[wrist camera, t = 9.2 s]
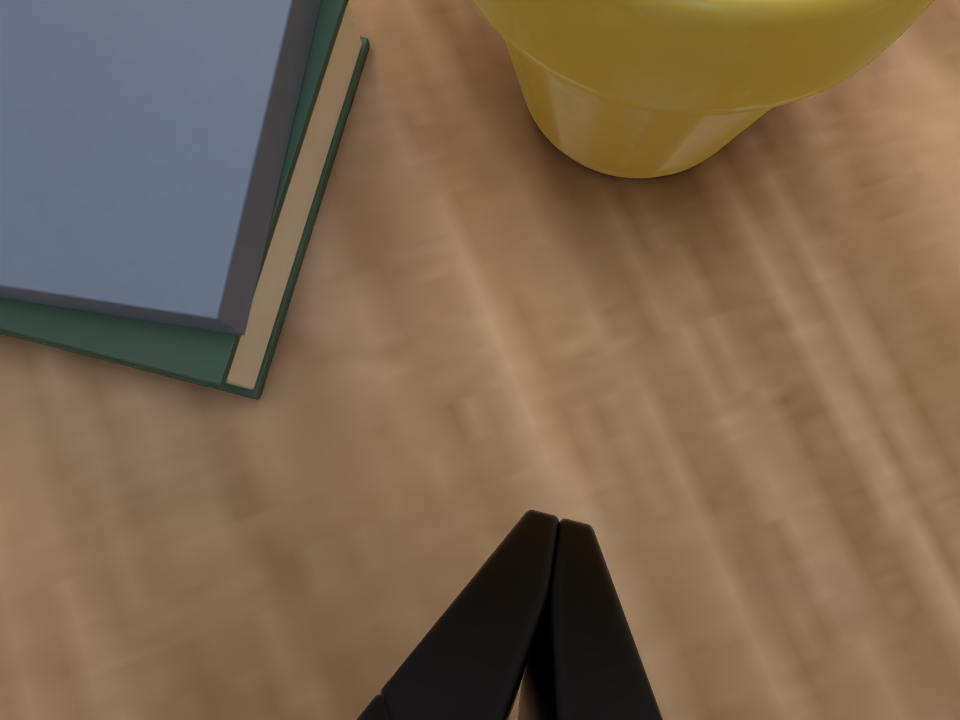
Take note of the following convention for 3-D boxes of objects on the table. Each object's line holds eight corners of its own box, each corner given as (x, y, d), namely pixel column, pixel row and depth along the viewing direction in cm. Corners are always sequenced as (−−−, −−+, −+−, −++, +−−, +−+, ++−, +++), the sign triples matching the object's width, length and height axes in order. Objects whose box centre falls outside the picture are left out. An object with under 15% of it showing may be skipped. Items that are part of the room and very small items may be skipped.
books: (266, 402, 20) (198, 375, 16) (-41, 323, 21) (-185, 277, 17) (379, 39, 22) (345, -74, 18) (93, -21, 23) (-5, -142, 19)
